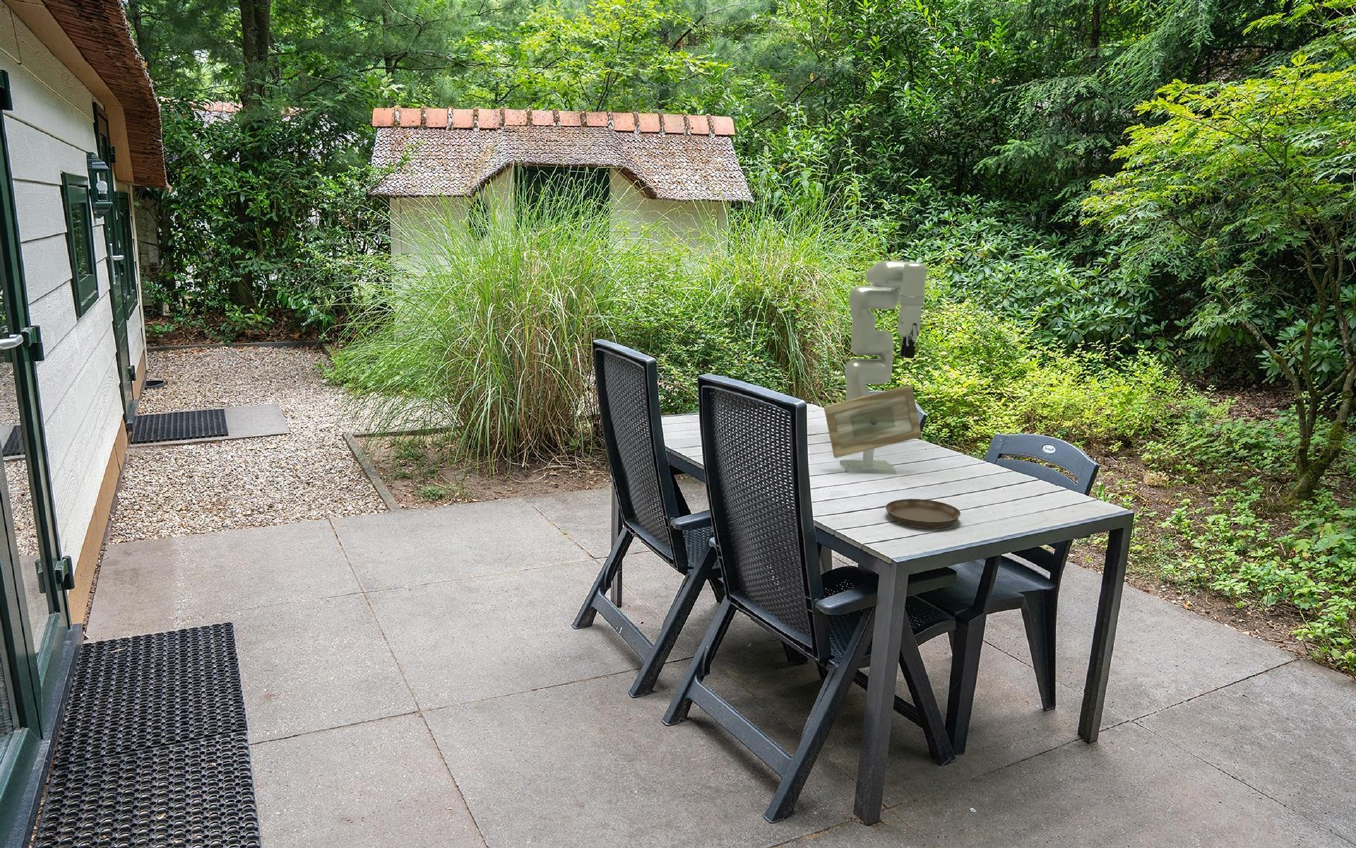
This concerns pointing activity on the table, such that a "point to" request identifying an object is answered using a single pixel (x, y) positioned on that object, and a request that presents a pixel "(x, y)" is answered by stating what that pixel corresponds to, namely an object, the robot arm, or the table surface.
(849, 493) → the table surface
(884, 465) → the frame stand
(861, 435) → the picture frame
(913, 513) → the plant saucer
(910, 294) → the robot arm
